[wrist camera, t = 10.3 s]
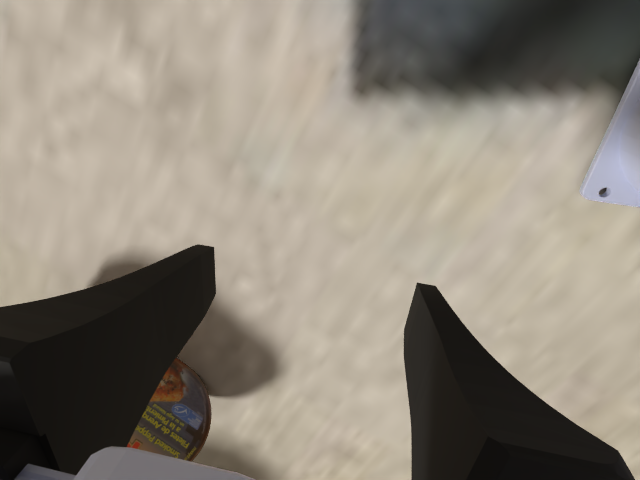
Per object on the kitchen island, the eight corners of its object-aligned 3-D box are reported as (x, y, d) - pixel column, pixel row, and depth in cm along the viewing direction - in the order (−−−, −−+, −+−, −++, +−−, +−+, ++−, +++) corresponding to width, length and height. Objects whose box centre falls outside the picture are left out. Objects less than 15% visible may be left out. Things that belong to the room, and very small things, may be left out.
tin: (228, 395, 31) (178, 503, 24) (207, 410, 32) (154, 516, 25) (76, 280, 28) (-37, 364, 20) (60, 302, 29) (-51, 387, 22)
